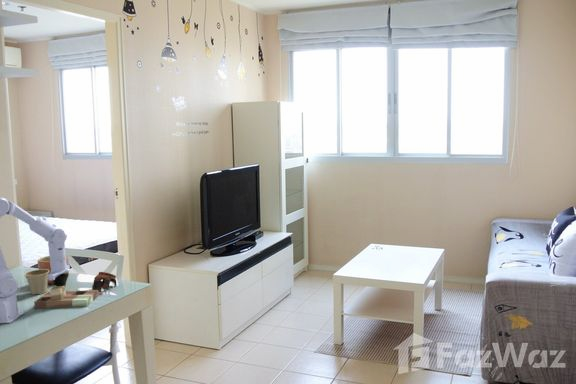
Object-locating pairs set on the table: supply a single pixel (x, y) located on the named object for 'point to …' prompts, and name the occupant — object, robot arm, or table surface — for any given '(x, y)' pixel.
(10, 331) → the table surface
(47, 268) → the planter
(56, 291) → the birch block
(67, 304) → the board
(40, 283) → the flower pot
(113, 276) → the pottery mug
